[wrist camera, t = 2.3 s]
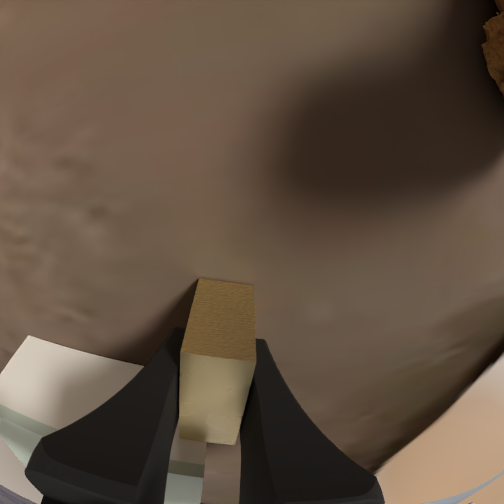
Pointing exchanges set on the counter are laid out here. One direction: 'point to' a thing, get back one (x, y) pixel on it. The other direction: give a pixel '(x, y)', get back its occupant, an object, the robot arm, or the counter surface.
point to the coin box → (79, 406)
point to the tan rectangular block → (217, 362)
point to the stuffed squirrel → (495, 46)
